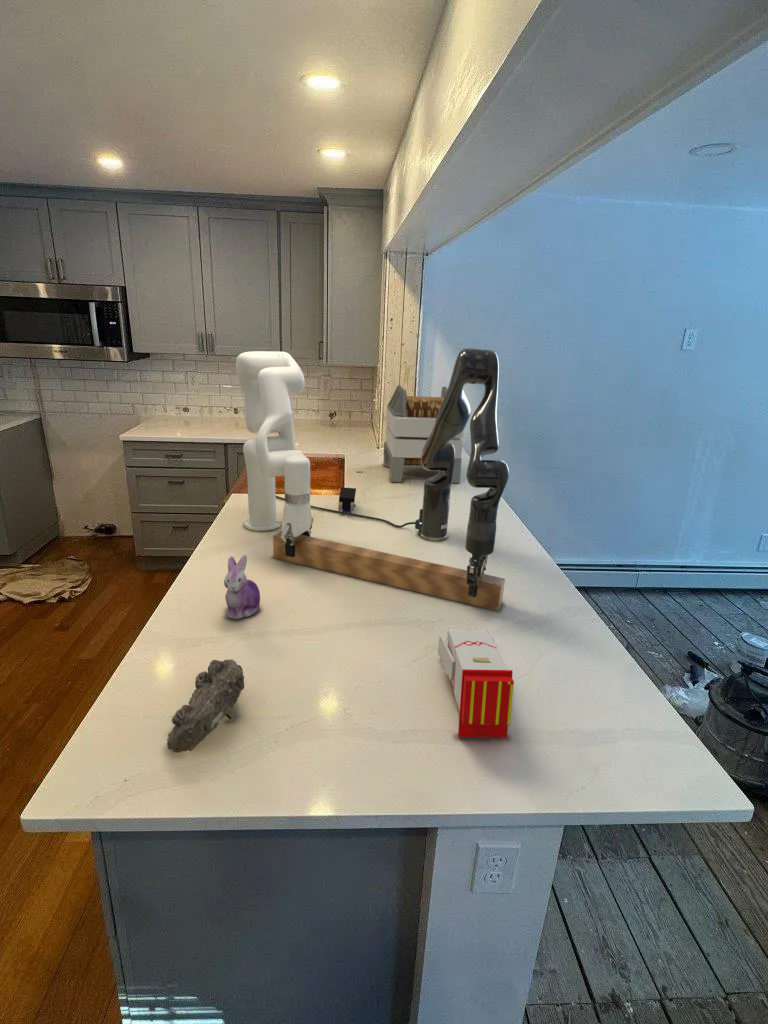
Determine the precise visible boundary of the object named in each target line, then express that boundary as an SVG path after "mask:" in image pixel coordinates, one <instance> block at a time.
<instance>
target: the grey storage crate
mask: <svg viewBox="0 0 768 1024" xmlns="http://www.w3.org/2000/svg"><path fill="white" fill-rule="evenodd" d="M447 390H448V387H447V386H442V387H441V392H440V393H441V394H440V396H415V395H414V396H413V395H412V396H411V395H407V394H408V393H407V390H406V389H404V388H403V387H402V385H399V384H398V385H397V386H396V388H395V390H394V392H393V394H392V395H391V398H390V400H389V402H388V404H387V405H386V413H385V414H386V415H385V423H386V428H385V438H384V442H383V466H384V467H388V468H389V475H388V476H389V477H388V478H389V480H390V482H391V483H402V482H403V475H404V469H405V466H406V467H407V466H411V467H412V466H413V467H415V466H416V467H417V466H418V467H422V465H421V453H422V450H423V447H424V445H425V443H426V441H427V439H428V437H429V435H430V433H431V431H432V429H433V427H434V424H435V421H436V418H437V415H438V412H439V410H440V407H441V405H442V402H443V400H444V398H445V395H446V392H447ZM464 431H465V429H464V430H463V431H462V432H461V433H460V434H459V435H458V436H456V437H455V438H454V439H452V440H450V441H449V442H447V443H450V444H452V445H453V446H454V449H455V464H454V471H453V479H452V484H455V483H456V484H459V483H461V472H462V461H463V460H462V453H463V442H464V441H463V440H462V439H463V438H464Z"/></svg>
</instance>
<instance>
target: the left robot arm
mask: <svg viewBox="0 0 768 1024" xmlns="http://www.w3.org/2000/svg"><path fill="white" fill-rule="evenodd" d="M235 370H236V376H237V379H238V381H239V385H240V386H241V389H242V394H243V406H244V419H245V426H246V429H247V431H248V432H250V433H251V434H256V437H253V438H250V439H247V440H246V441H245V442H244V444H243V446H242V447H243V448H242V451H243V457H244V462H245V468H246V469H245V470H246V479H247V480H246V481H247V505H248V506H247V507H248V519H246V520H245V521H244V527H245V528H246V529H247V530H249V531H254V532H255V531H256V532H269V531H273V530H276V529H278V528H279V527H280V526H281V531H282V534H281V538H282V540H283V542H284V544H285V555H286V556H290V557H295V545H294V541H295V538H296V537H297V536H299V535H305V536H310V537H311V535H312V528H313V523H314V517H312V508H311V506H312V505H311V461H310V459H309V457H307V456H306V455H305V454H304V453H303V452H302V451H301V450H299V449H296V443H295V442H296V441H295V425H294V423H295V422H294V416H293V410H292V405H291V400H290V395H300V394H301V393H303V392H304V390H305V387H306V380H305V376H304V372H303V370H302V369H301V367H300V365H299V364H298V363H297V362H296V361H295V359H294V357H292V355H291V354H290V353H288V352H286V351H275V350H273V351H271V350H270V351H269V350H267V351H265V350H263V351H262V350H256V351H255V350H253V351H245V352H242V353H240V354H239V355H237V357H236V361H235ZM271 433H272V434H273V433H277V434H278V435H277V436H276V435H274V436H269V434H271ZM276 477H283V479H284V480H283V481H284V498H285V500H284V504H283V509H282V517H281V518H282V519H281V520H280V518H278V517H277V498H276V496H277V492H276V488H277V487H276ZM310 505H311V506H310ZM290 533H293V535H292V534H290ZM289 537H292V539H291V540H290V539H289Z"/></svg>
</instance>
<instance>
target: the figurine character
mask: <svg viewBox="0 0 768 1024" xmlns="http://www.w3.org/2000/svg"><path fill="white" fill-rule="evenodd" d="M356 492H357V488H355V487H344V486H341V487H340V491H339V496H338V507H337V508H338V509H337V510H338V511H341V512H342V513H341V515H342V516H343V515H345V514H344V513H343V512H347V513H352V512H354V511H355V508H356V507H357V505H356V503H355V499H356ZM349 516H351V515H350V514H349Z"/></svg>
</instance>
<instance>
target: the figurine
mask: <svg viewBox="0 0 768 1024" xmlns="http://www.w3.org/2000/svg"><path fill="white" fill-rule="evenodd" d="M247 562H248V556H247V555H246V554H243V556H242V557H241V558H240V559H239V560H238V561H236V560H235V557H234V556H232V555H231V556H230V557H228V560H227V573H226V575H225V576H224V577H225V578H224V580H223V585H224V588H226V589H227V590H226V593H225V595H224V596H225V597H224V599H225V603H226V607H227V612H226V617H227V618H230V619H234V620H235V619H236V620H240V619H243V618H248V617H250V616H252V615H254V614H256V613H257V612H259V610H260V603H261V592H260V589H259V587H258V584H256V582H255V581H253V580H250V579H248V578H247V576H246V573H245V570H246V567H247Z"/></svg>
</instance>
